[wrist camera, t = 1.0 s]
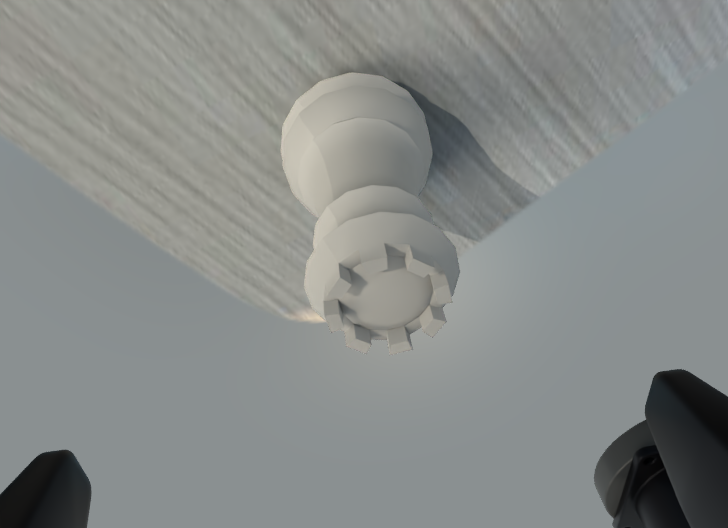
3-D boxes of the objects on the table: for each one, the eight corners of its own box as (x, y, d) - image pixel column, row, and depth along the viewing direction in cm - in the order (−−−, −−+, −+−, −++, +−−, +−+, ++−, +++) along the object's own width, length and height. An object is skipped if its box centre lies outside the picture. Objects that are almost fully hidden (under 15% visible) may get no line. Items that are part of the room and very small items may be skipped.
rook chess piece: (250, 149, 18) (226, 325, 11) (347, 33, 16) (384, 162, 10) (359, 227, 20) (391, 415, 13) (456, 131, 18) (546, 293, 12)
